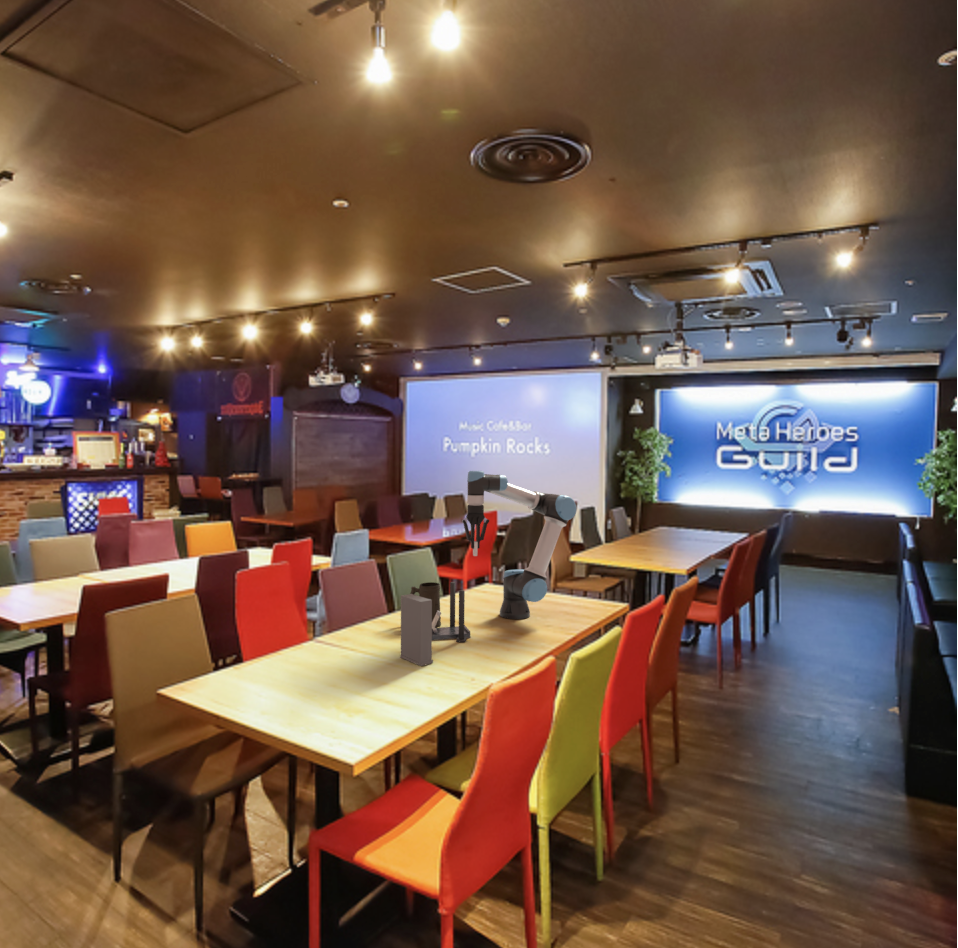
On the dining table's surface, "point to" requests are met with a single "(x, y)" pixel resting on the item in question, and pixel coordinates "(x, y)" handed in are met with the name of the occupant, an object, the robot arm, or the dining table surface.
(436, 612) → the breaker paddle
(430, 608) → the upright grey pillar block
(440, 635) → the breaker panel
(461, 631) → the disc
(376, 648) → the dining table surface
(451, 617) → the cable post far
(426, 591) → the beer stein
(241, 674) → the dining table surface
